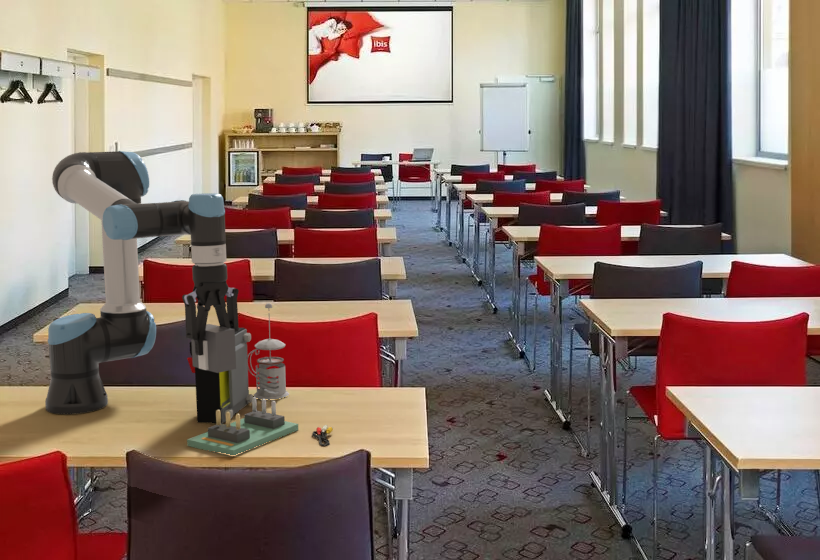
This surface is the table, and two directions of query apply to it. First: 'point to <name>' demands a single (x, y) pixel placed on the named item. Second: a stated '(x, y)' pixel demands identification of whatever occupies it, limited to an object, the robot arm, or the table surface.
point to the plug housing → (218, 348)
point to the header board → (247, 444)
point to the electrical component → (223, 385)
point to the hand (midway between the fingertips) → (214, 366)
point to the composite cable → (322, 434)
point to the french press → (270, 370)
